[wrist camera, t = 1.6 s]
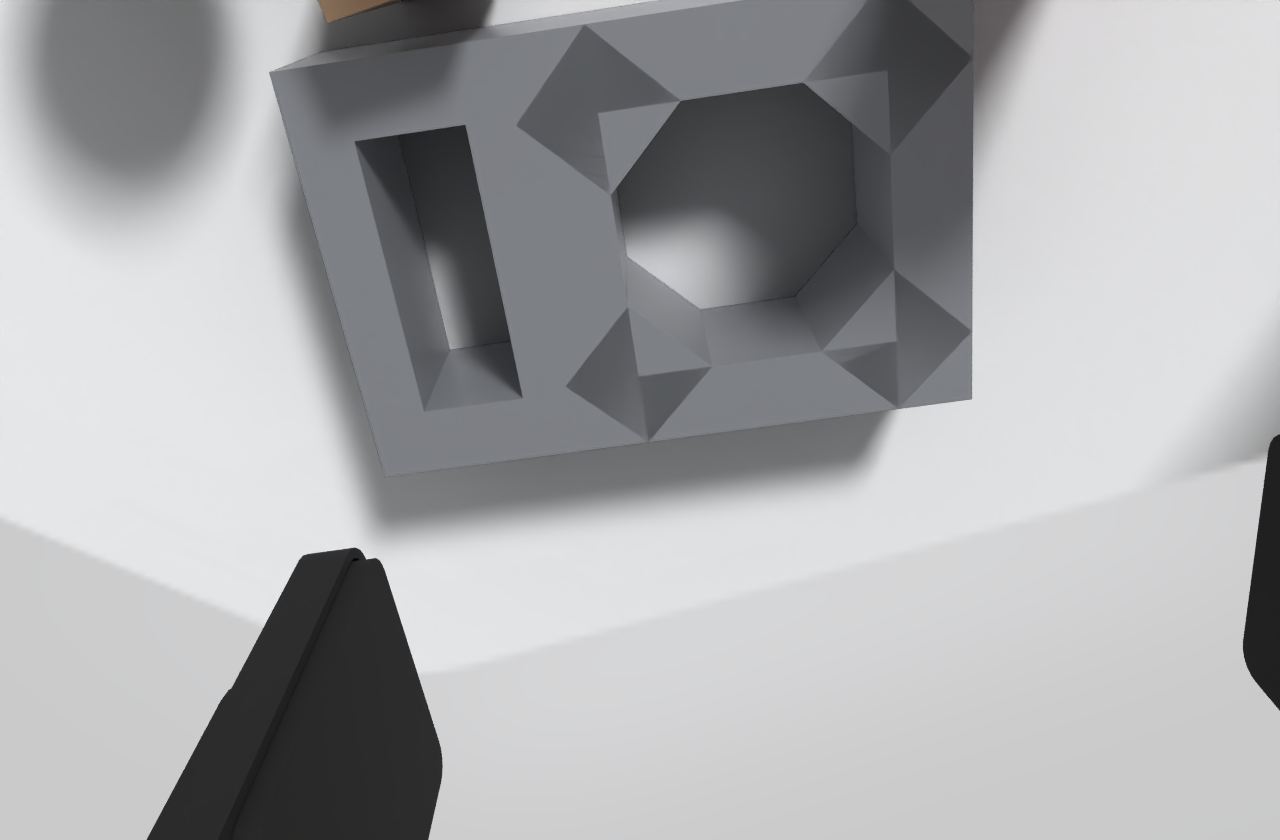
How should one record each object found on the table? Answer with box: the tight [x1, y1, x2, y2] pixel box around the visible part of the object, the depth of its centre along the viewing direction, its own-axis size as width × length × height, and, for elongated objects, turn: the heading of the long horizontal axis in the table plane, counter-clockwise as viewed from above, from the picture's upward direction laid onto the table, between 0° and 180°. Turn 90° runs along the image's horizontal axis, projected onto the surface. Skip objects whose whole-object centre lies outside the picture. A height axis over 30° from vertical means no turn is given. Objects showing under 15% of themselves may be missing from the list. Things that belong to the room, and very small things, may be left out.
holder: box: [269, 0, 973, 477], centre depth 30 cm, size 18×12×5 cm, turn 98°
